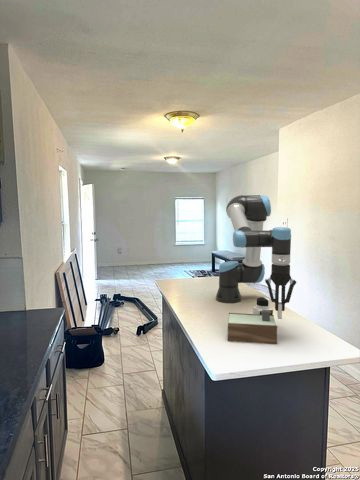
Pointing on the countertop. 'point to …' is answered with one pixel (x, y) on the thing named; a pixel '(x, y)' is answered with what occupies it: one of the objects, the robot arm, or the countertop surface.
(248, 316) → the lid
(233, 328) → the box
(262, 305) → the medicine bottle
